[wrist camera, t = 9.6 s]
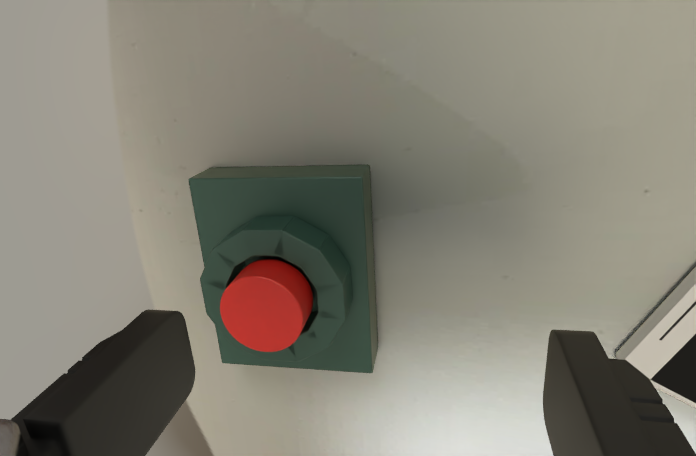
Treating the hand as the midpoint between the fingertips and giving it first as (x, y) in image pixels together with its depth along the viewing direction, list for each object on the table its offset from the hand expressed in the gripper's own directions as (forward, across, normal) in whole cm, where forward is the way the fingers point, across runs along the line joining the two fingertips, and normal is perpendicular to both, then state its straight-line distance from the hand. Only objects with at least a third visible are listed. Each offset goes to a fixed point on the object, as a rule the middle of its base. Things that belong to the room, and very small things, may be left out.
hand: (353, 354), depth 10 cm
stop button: (+9, +5, +4) cm, 11 cm away
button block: (+13, +5, +4) cm, 14 cm away
